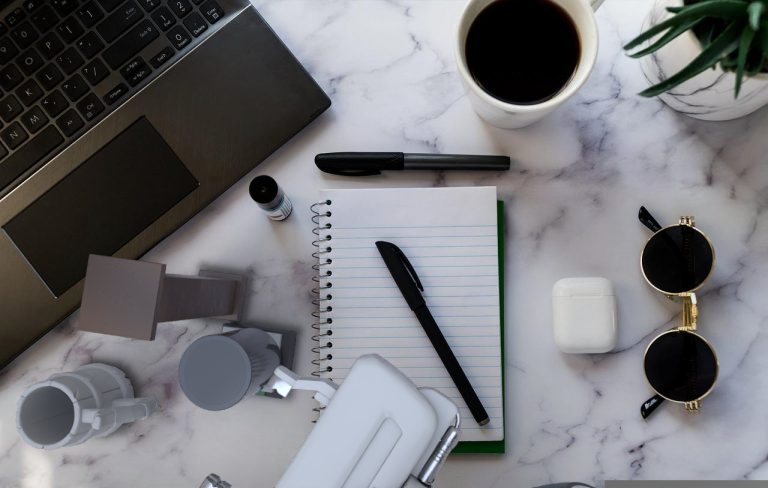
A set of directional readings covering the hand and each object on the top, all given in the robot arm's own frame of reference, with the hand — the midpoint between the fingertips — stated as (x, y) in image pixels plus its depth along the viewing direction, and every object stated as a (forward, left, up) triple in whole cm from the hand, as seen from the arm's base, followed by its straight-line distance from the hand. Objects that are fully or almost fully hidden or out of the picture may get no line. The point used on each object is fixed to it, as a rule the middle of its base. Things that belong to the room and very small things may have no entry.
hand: (238, 428), depth 47 cm
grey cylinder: (+3, +5, -16) cm, 17 cm away
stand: (+8, +9, -20) cm, 23 cm away
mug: (-4, +19, -20) cm, 28 cm away
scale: (+2, +5, -20) cm, 20 cm away
